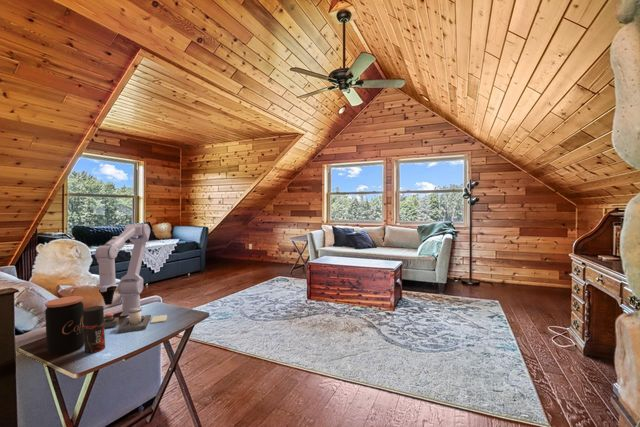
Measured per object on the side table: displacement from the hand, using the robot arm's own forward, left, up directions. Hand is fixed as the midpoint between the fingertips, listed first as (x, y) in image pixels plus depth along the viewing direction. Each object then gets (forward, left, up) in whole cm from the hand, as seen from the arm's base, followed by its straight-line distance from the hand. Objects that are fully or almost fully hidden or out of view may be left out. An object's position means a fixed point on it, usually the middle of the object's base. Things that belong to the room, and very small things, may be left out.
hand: (108, 304), depth 133 cm
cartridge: (+4, +11, -9) cm, 15 cm away
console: (0, 0, -9) cm, 9 cm away
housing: (+4, +11, -9) cm, 15 cm away
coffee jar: (+20, -8, -10) cm, 24 cm away
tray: (+1, +20, -9) cm, 22 cm away
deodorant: (+25, +2, -10) cm, 27 cm away
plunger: (0, 0, -8) cm, 8 cm away
